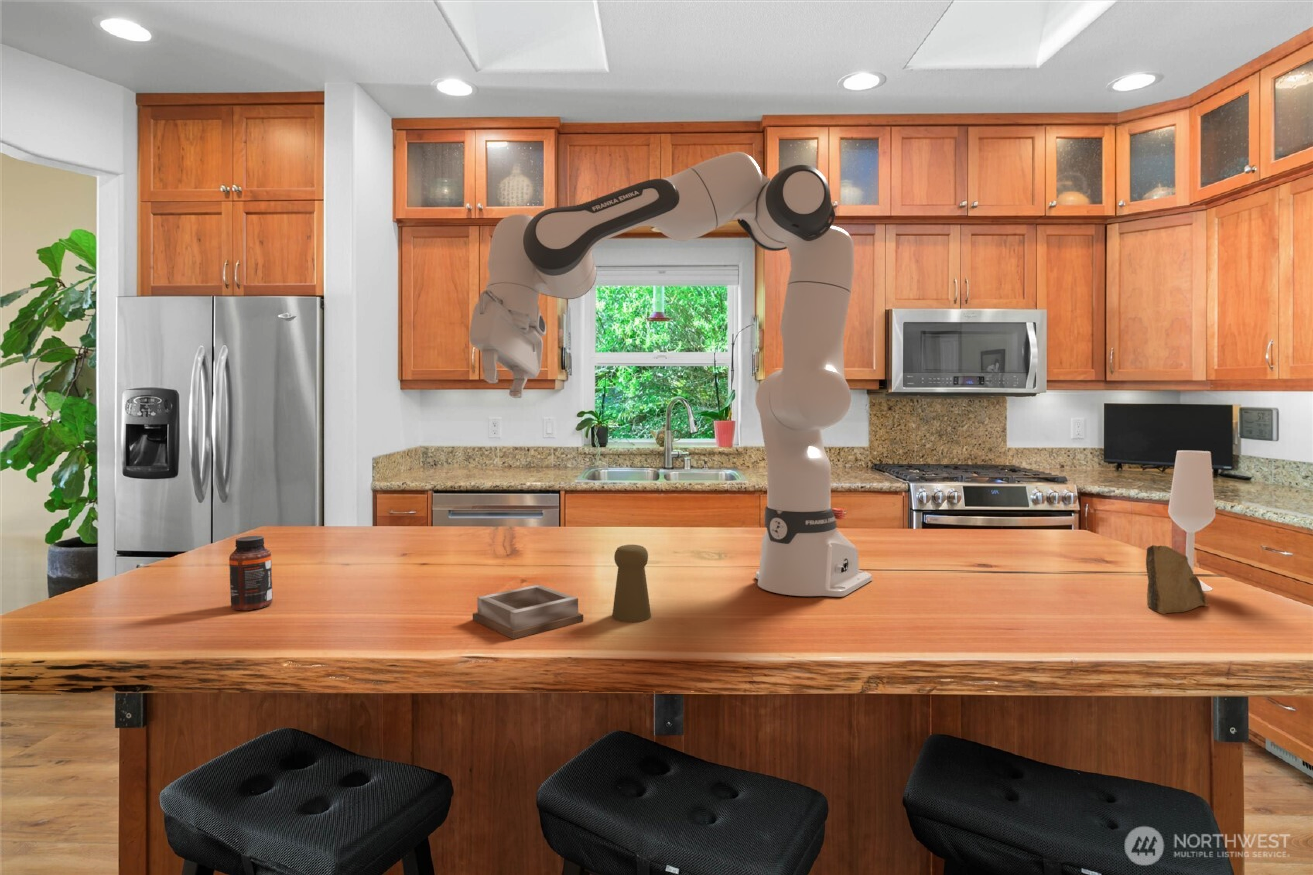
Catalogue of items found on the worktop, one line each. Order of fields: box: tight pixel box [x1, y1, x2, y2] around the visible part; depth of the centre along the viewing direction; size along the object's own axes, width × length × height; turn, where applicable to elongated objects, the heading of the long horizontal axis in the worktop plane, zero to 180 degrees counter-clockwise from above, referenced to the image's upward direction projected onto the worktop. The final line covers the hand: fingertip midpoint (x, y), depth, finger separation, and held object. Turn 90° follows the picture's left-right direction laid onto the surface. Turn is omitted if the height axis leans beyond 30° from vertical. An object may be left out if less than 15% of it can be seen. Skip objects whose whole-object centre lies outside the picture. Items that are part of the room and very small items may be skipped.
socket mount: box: [472, 584, 584, 640], centre depth 107 cm, size 12×12×4 cm
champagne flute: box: [1167, 450, 1217, 592], centre depth 125 cm, size 7×7×24 cm
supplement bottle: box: [228, 535, 273, 611], centre depth 115 cm, size 6×6×11 cm
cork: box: [611, 544, 652, 623], centre depth 109 cm, size 6×6×11 cm
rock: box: [1145, 544, 1209, 615], centre depth 112 cm, size 11×9×10 cm
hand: (503, 389), depth 115 cm, fingers open, 8 cm apart
